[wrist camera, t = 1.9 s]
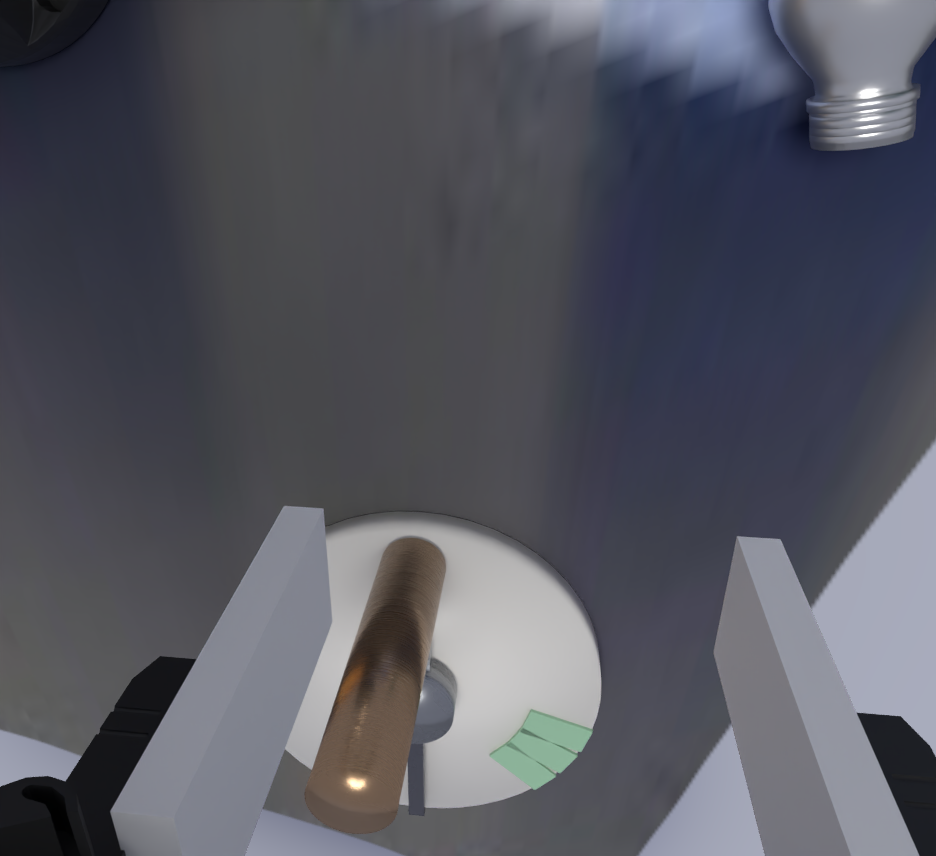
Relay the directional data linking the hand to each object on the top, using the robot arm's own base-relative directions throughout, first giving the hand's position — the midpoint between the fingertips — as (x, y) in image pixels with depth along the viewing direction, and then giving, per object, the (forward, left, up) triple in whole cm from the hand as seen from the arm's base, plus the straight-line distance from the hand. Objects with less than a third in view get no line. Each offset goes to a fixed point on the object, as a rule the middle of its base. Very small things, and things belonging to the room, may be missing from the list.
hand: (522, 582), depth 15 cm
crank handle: (-6, -26, -23) cm, 35 cm away
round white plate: (-6, -26, -25) cm, 37 cm away
